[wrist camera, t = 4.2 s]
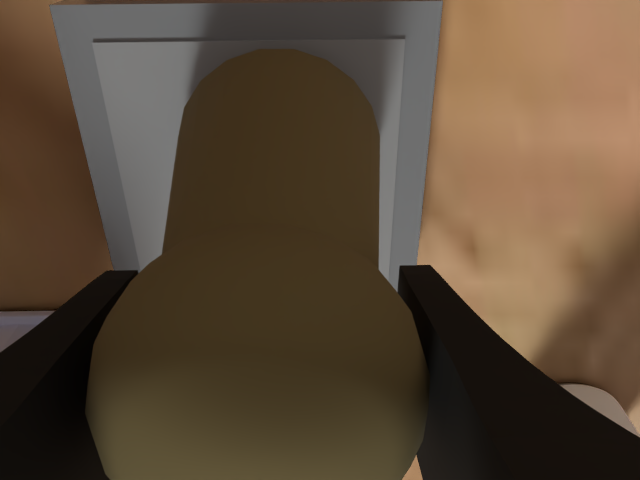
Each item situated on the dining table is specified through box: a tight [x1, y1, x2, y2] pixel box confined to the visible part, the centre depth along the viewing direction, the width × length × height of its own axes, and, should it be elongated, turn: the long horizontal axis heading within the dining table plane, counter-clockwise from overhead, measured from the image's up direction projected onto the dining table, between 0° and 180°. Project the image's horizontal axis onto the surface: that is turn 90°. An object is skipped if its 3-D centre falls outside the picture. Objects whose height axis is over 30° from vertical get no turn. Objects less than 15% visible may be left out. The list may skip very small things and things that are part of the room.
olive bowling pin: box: [85, 49, 430, 480], centre depth 12 cm, size 6×6×11 cm
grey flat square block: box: [49, 0, 443, 291], centre depth 19 cm, size 11×11×3 cm
